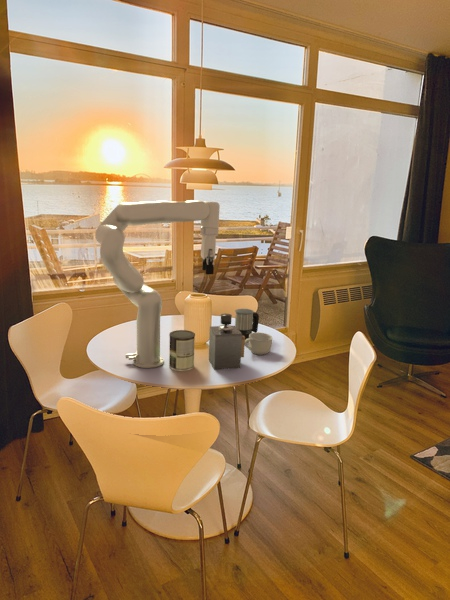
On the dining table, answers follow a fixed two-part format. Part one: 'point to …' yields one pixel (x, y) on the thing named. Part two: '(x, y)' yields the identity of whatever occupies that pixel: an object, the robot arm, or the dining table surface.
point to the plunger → (226, 322)
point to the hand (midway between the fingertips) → (207, 272)
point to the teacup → (259, 343)
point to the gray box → (226, 348)
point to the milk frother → (246, 321)
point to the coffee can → (181, 350)
